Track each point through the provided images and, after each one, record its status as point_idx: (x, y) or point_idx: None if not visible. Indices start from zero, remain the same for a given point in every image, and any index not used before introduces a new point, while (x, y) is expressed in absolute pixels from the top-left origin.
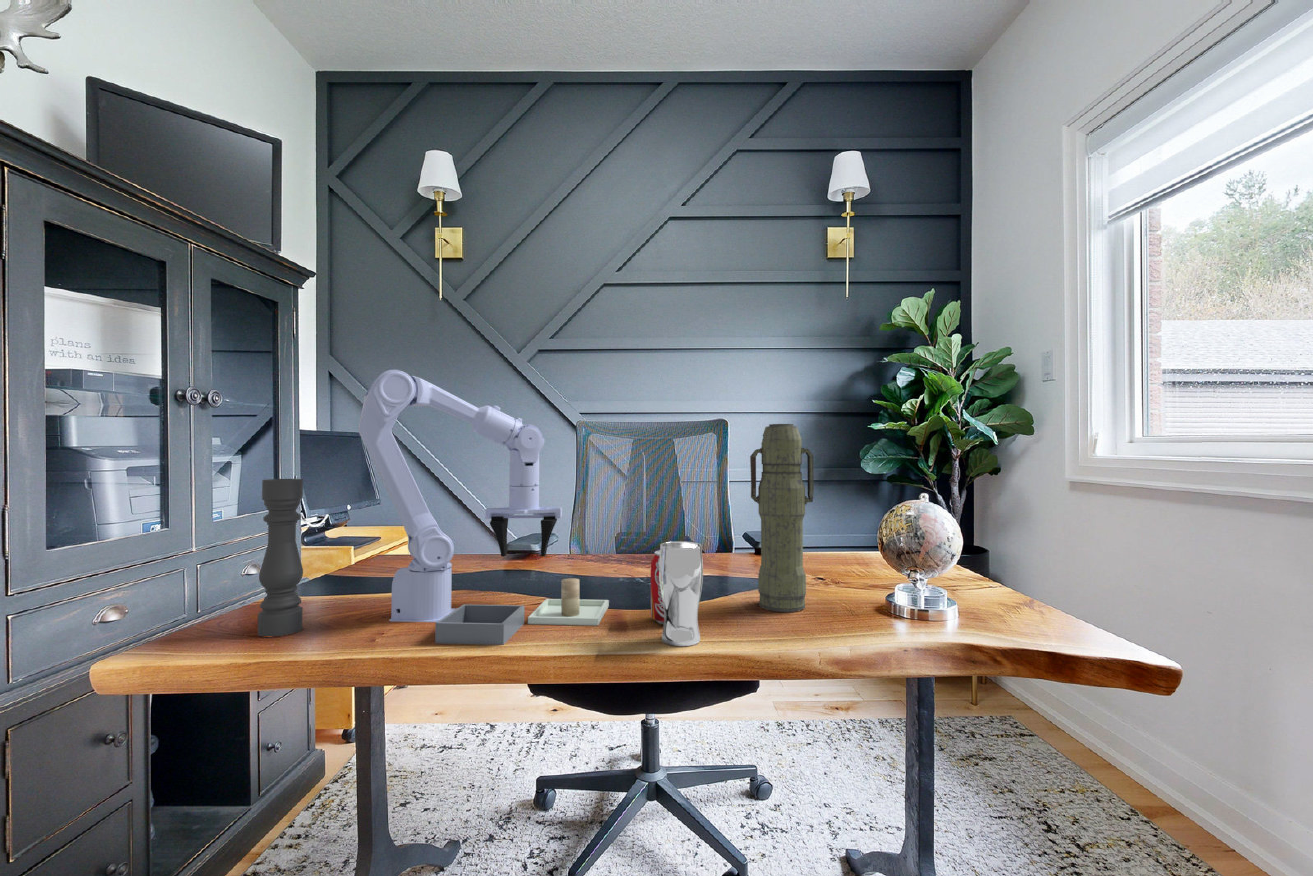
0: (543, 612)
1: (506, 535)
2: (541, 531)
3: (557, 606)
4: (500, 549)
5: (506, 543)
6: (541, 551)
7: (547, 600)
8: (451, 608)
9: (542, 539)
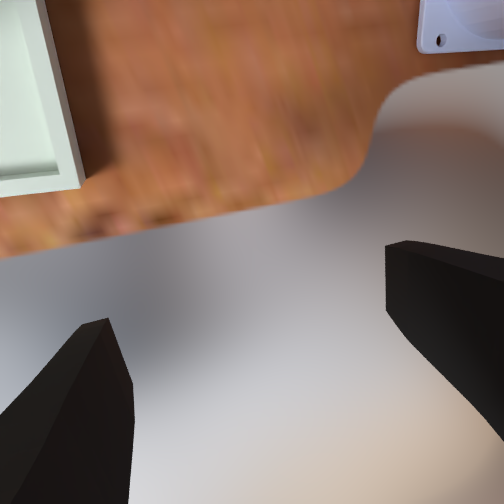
0: (17, 28)
1: (496, 416)
2: (18, 491)
3: (5, 153)
4: (447, 248)
5: (442, 356)
6: (93, 333)
7: (58, 161)
8: (454, 50)
9: (49, 409)
